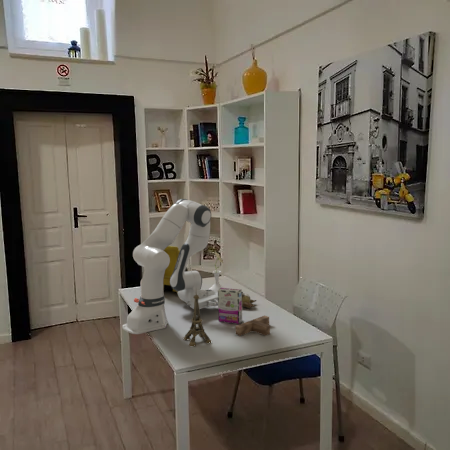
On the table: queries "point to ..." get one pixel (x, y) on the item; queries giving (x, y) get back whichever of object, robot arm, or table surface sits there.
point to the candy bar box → (230, 305)
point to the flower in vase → (217, 276)
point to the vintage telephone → (171, 265)
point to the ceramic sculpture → (247, 301)
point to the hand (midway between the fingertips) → (217, 304)
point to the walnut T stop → (254, 326)
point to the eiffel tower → (194, 329)
